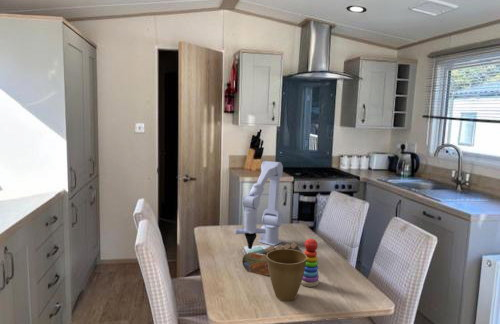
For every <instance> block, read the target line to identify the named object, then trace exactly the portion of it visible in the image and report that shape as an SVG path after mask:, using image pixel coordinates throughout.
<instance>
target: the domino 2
mask: <svg viewBox="0 0 500 324" xmlns="http://www.w3.org/2000/svg"><path fill="white" fill-rule="evenodd" d="M275 247H276V246H273V245H270V246H268V247H266V248H263V249H264V253H262V254H265V255H267V253H269V252H270V251H273V250H276V249H275Z"/></svg>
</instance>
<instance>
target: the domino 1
mask: <svg viewBox="0 0 500 324" xmlns="http://www.w3.org/2000/svg"><path fill="white" fill-rule="evenodd" d="M264 249H265V248H264V247H262V246H261V245H259V246H257V247H254V248H252V249H249V250H247V253H250V252H255V253H260V254H262V253H264Z"/></svg>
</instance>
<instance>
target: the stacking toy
mask: <svg viewBox="0 0 500 324" xmlns="http://www.w3.org/2000/svg"><path fill="white" fill-rule="evenodd" d="M304 247H305V250H304V252H303V253H304V254H305V255H306V256H307V260H306V266H305V270H304V275H303V278H302V282H301V285H302V286H305V287H309V288H312V287H316V286H318V285H319V282H320V280H319V278H320V277H319V276H320V275H319V266H318V264H319V263H318V256H317V255H318V252H317V249H318V242H317V240H315V239H314V238H308V239H306V241H305V242H304Z"/></svg>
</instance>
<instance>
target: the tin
mask: <svg viewBox="0 0 500 324" xmlns="http://www.w3.org/2000/svg"><path fill="white" fill-rule="evenodd" d="M241 261H242V262H241V263H242V266H243V268H244V269H245V270H246V271H247V272H249V273H252V274H257V275H262V276H270V275H269V270H268V263H267V255H265V254H260V253H255V252H250V253H248V252H247V253H245V254H244V255H243V257H242V260H241Z"/></svg>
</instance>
